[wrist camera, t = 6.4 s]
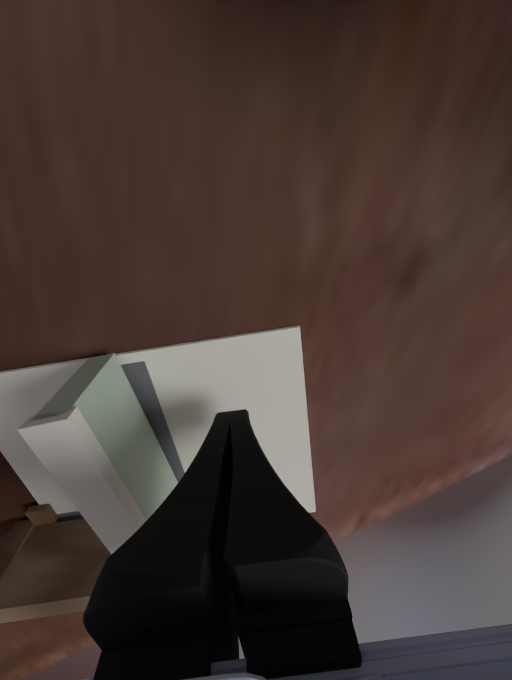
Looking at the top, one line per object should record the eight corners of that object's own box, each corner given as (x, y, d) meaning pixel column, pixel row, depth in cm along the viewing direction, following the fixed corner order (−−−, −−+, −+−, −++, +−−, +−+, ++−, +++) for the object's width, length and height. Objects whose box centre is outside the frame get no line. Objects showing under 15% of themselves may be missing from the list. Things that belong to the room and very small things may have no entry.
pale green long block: (197, 515, 18) (186, 604, 14) (172, 520, 18) (153, 610, 14) (119, 351, 13) (67, 419, 9) (83, 359, 13) (16, 429, 9)
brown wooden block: (34, 545, 19) (-20, 639, 15) (5, 509, 17) (-65, 603, 13) (172, 525, 19) (154, 614, 15) (155, 487, 17) (131, 574, 13)
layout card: (71, 544, 19) (69, 547, 19) (-47, 378, 13) (-51, 381, 13) (314, 508, 19) (315, 511, 19) (299, 325, 13) (300, 326, 13)
